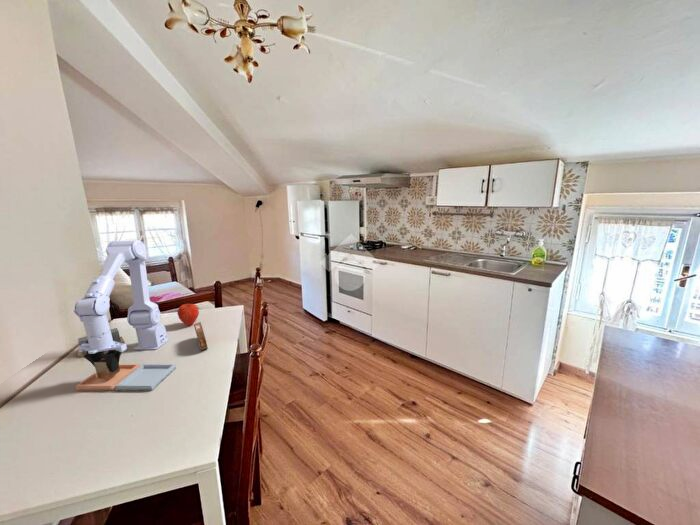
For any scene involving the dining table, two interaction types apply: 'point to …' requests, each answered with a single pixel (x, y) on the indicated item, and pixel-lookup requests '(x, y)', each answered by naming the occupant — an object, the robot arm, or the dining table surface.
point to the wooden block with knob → (104, 369)
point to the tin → (200, 336)
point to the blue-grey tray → (146, 377)
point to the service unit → (84, 340)
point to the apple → (188, 314)
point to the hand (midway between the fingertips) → (108, 370)
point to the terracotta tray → (106, 384)
